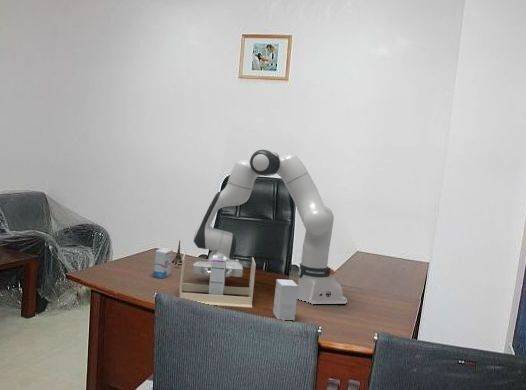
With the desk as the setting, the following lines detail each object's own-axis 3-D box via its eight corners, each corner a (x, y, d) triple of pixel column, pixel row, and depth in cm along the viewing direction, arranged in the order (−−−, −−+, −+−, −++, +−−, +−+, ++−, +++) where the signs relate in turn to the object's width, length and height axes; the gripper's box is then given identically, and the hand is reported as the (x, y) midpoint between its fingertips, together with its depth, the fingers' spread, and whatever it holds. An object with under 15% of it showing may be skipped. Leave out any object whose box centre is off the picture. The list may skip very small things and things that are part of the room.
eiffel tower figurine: (174, 260, 242) (176, 234, 241) (192, 263, 239) (194, 237, 238) (160, 266, 227) (162, 239, 226) (179, 269, 225) (182, 242, 224)
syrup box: (223, 295, 184) (226, 259, 182) (207, 294, 183) (211, 257, 182) (223, 291, 189) (227, 256, 188) (209, 290, 189) (212, 254, 188)
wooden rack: (249, 292, 197) (252, 255, 196) (252, 308, 178) (256, 266, 177) (181, 288, 194) (185, 250, 193) (178, 303, 176) (181, 261, 174)
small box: (294, 321, 169) (298, 285, 168) (277, 320, 168) (281, 285, 166) (288, 313, 177) (292, 279, 176) (272, 312, 175) (276, 278, 174)
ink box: (163, 278, 205) (165, 252, 204) (152, 277, 206) (154, 250, 205) (171, 274, 213) (173, 248, 212) (160, 272, 214) (162, 247, 213)
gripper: (193, 256, 196) (191, 264, 183) (242, 260, 199) (244, 268, 185) (192, 271, 197) (190, 280, 183) (241, 274, 199) (242, 284, 186)
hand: (217, 274), depth 184 cm, fingers closed on syrup box, 6 cm apart
